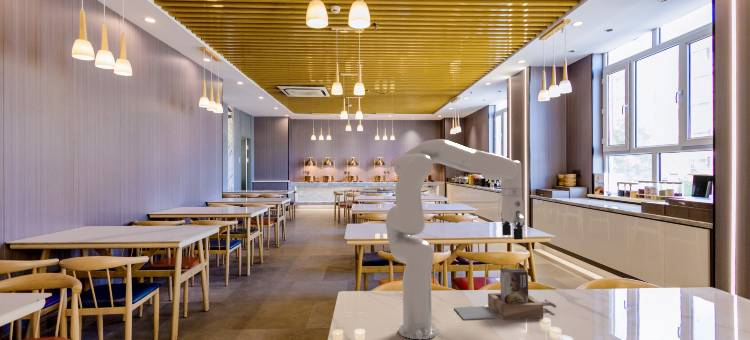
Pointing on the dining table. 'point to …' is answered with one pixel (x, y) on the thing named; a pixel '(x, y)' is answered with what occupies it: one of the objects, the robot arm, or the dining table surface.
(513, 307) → the open brown box
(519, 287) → the coffee box
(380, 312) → the dining table surface
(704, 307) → the dining table surface
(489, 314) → the mat
